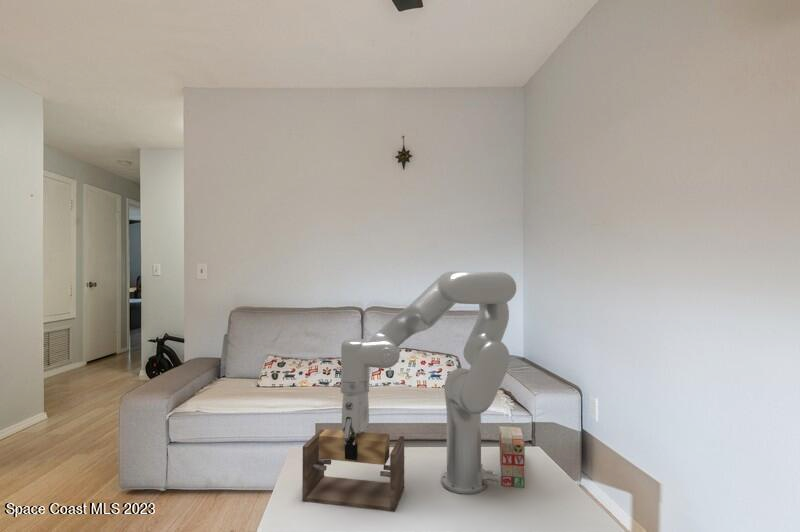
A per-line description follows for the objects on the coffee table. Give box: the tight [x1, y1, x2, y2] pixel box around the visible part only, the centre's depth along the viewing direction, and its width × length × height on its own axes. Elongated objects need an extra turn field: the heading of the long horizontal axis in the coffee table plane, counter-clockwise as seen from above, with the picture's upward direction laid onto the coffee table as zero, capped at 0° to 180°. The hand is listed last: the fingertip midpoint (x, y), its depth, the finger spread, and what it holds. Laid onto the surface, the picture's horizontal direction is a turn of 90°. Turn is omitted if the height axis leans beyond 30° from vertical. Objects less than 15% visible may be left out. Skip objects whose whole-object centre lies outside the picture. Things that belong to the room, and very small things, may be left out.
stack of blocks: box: [498, 426, 526, 489], centre depth 129 cm, size 21×6×12 cm, turn 169°
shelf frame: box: [301, 429, 405, 512], centre depth 115 cm, size 24×12×14 cm, turn 78°
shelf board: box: [319, 428, 390, 466], centre depth 115 cm, size 18×5×6 cm, turn 78°
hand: (354, 454), depth 115 cm, fingers closed on shelf board, 5 cm apart
